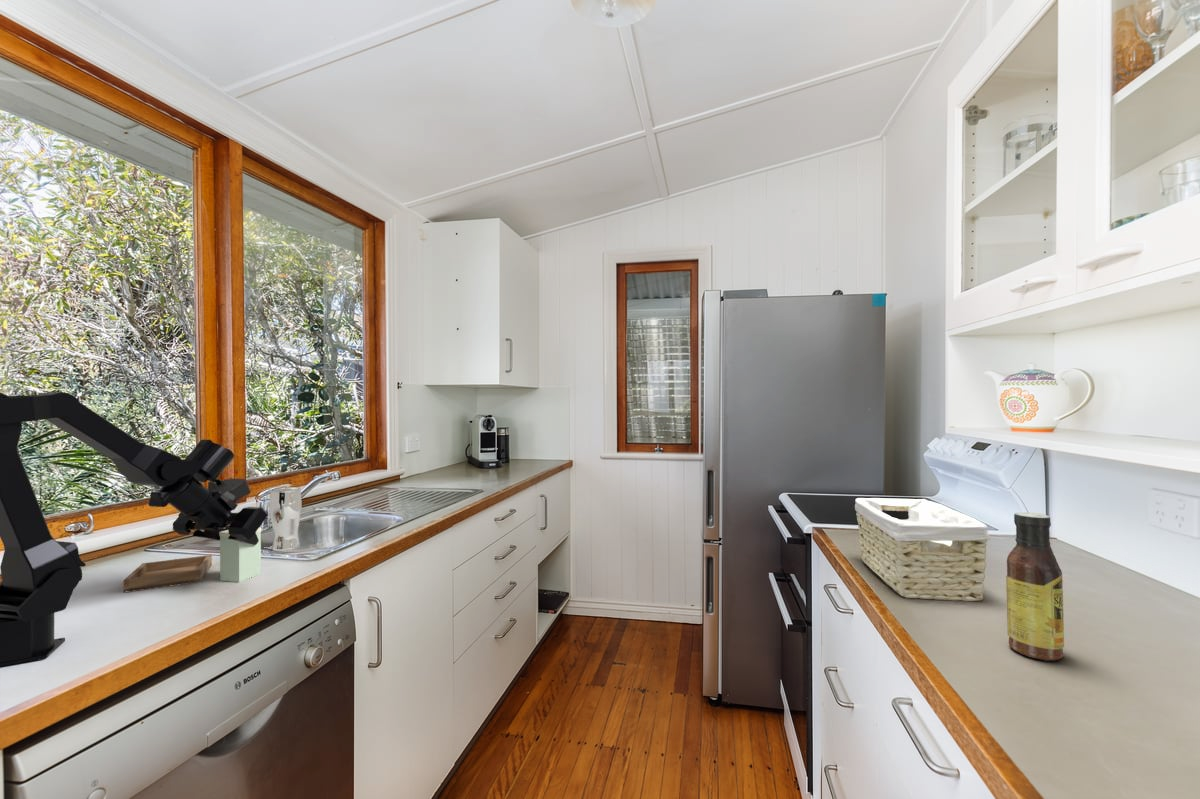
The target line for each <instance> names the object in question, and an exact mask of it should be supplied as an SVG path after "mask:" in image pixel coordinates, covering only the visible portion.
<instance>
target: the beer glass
mask: <svg viewBox="0 0 1200 799" xmlns="http://www.w3.org/2000/svg"><path fill="white" fill-rule="evenodd" d="M301 490H302V489H301V487H299V486H297V487H296V486H295V487H293V486H292V487H291V486H290V487H289V486H288V487H279V488H273V489H271V490H270V494H269V515H270V516H269V517H270V520H271V526H272V531H273V532H272V533H273V539H272V540H273V541H272V544H271V545H272V546H271V550H272V552H273V551H274V552H285V551H287V552H288V551H292V550H294V549H298V548H300V546H301V544H300V539H299V525H300V521H301V515H302V514H301V513H302V509H303V508H302V504H303V503H302V500H303V499H302V492H301Z"/></svg>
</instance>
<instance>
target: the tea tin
mask: <svg viewBox="0 0 1200 799" xmlns="http://www.w3.org/2000/svg"><path fill="white" fill-rule="evenodd" d="M262 530H263V529H262V527H261V526H260V527H259V528H258V530H257V531H256V535H257V537H258V540H259V541H258V543H257V544H256V545H253V544H248V543H244V542H239V541H235V540H231V539H228V537H229V536H230V534H228V530H226V531H222V532H219V536H220V541H219V574H220V575H219V576H220V577H219V580H220V581H223V582H232V583H241V582H244V581H247V580H249V578H250V579H252V578H254V576H255V577H258V576H260V575H261V574H262V565H261V564H262V561H261V560H262V549H261V548H262V542H261V541H262V535H261V534H262ZM257 575H258V576H257ZM251 577H252V578H251ZM246 579H247V580H246Z"/></svg>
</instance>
